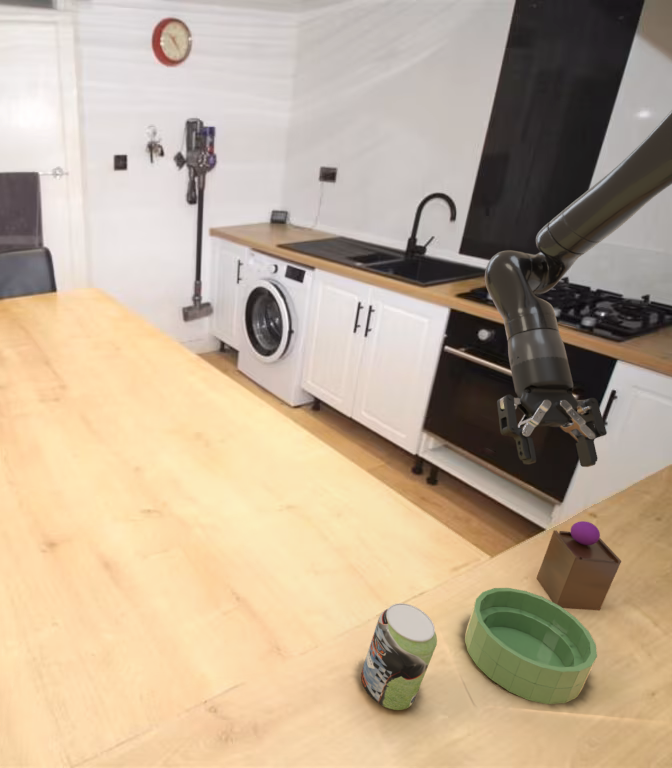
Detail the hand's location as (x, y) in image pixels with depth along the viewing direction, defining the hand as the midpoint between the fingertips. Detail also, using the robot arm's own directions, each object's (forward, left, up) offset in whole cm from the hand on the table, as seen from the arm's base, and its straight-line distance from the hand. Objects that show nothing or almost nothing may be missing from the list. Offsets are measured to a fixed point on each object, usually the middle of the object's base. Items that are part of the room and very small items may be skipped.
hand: (559, 464), depth 80 cm
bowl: (+15, +20, -16) cm, 30 cm away
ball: (+1, +9, -6) cm, 10 cm away
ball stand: (+1, +10, -16) cm, 19 cm away
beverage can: (+33, +24, -16) cm, 44 cm away
